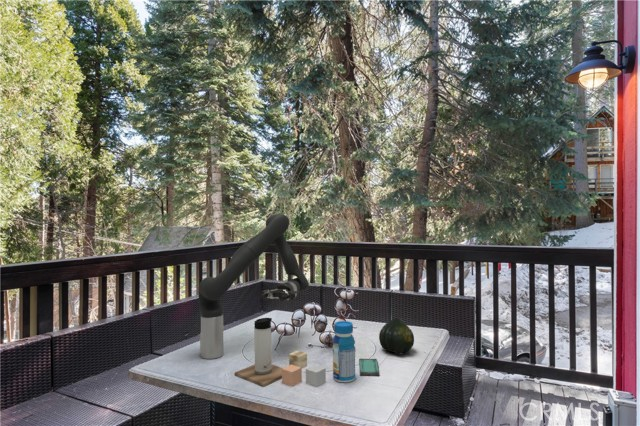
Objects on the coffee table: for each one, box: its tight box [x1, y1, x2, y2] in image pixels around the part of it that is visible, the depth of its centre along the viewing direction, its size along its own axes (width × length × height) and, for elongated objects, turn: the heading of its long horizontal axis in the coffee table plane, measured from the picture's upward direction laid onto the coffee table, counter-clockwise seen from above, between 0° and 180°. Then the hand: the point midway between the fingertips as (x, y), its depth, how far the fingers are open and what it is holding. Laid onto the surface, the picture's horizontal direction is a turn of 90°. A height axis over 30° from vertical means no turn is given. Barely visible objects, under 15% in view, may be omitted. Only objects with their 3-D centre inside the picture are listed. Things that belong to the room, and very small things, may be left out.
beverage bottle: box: [331, 320, 356, 383], centre depth 139 cm, size 8×8×20 cm
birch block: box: [288, 350, 308, 369], centre depth 151 cm, size 5×5×5 cm
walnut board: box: [234, 363, 284, 388], centre depth 143 cm, size 16×14×1 cm
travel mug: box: [253, 317, 273, 375], centre depth 143 cm, size 6×7×20 cm
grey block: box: [305, 364, 327, 388], centre depth 136 cm, size 5×5×5 cm
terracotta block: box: [281, 364, 303, 387], centre depth 136 cm, size 5×5×5 cm
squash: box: [378, 316, 415, 356], centre depth 166 cm, size 14×15×15 cm
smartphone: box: [358, 358, 380, 377], centre depth 148 cm, size 7×1×15 cm
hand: (273, 297), depth 154 cm, fingers open, 8 cm apart
